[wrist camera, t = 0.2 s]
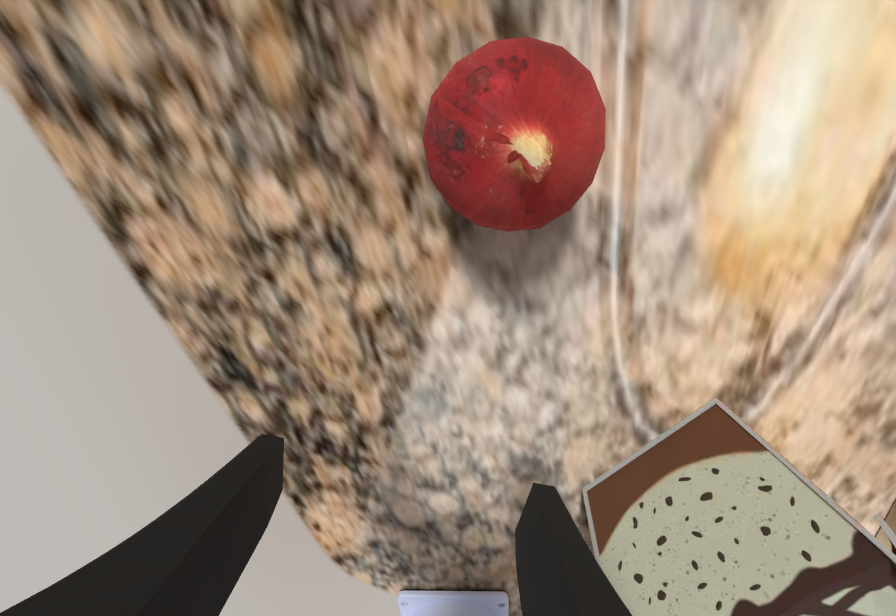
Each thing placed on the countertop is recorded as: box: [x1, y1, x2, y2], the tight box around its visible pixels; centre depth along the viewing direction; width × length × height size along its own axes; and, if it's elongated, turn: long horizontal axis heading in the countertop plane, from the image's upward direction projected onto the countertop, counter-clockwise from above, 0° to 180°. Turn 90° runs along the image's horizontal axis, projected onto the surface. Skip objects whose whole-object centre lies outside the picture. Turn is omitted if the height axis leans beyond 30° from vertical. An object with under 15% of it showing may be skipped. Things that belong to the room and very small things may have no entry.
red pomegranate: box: [423, 37, 606, 231], centre depth 13 cm, size 6×6×8 cm
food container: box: [582, 397, 896, 616], centre depth 20 cm, size 12×6×10 cm, turn 140°
